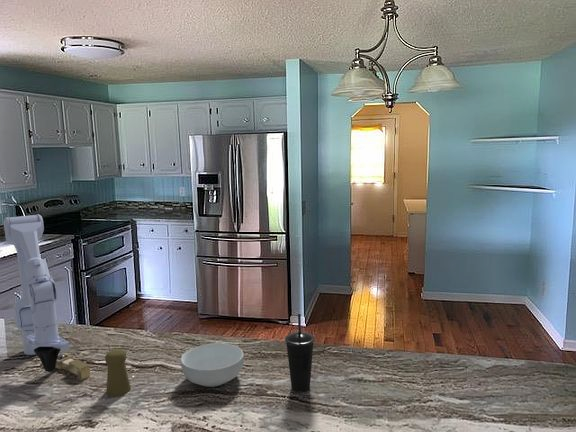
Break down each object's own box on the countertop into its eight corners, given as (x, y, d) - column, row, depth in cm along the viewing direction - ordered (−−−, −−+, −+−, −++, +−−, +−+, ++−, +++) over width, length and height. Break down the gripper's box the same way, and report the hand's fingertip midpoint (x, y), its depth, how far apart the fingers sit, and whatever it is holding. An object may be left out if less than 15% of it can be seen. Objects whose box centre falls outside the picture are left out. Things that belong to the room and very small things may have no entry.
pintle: (61, 366, 130) (60, 354, 130) (67, 366, 130) (66, 354, 130) (58, 369, 128) (56, 356, 128) (64, 369, 128) (62, 356, 128)
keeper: (90, 380, 122) (89, 365, 121) (82, 383, 120) (80, 368, 119) (78, 373, 126) (77, 358, 125) (70, 376, 124) (68, 362, 123)
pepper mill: (122, 397, 113) (119, 357, 111) (101, 395, 114) (97, 355, 112) (135, 385, 119) (132, 346, 117) (115, 383, 120) (111, 345, 118)
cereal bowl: (255, 371, 125) (254, 347, 124) (223, 401, 110) (221, 375, 109) (205, 360, 132) (204, 338, 131) (169, 388, 117) (167, 362, 116)
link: (51, 366, 128) (50, 358, 128) (65, 360, 132) (64, 352, 132) (75, 376, 122) (74, 368, 122) (89, 370, 125) (88, 362, 125)
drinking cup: (318, 382, 118) (317, 310, 115) (310, 397, 111) (309, 321, 108) (291, 378, 120) (289, 307, 118) (282, 392, 113) (280, 318, 111)
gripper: (13, 326, 121) (19, 372, 123) (51, 333, 115) (56, 381, 117) (37, 317, 127) (41, 361, 129) (73, 323, 122) (78, 369, 124)
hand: (50, 370), depth 124 cm, fingers closed
